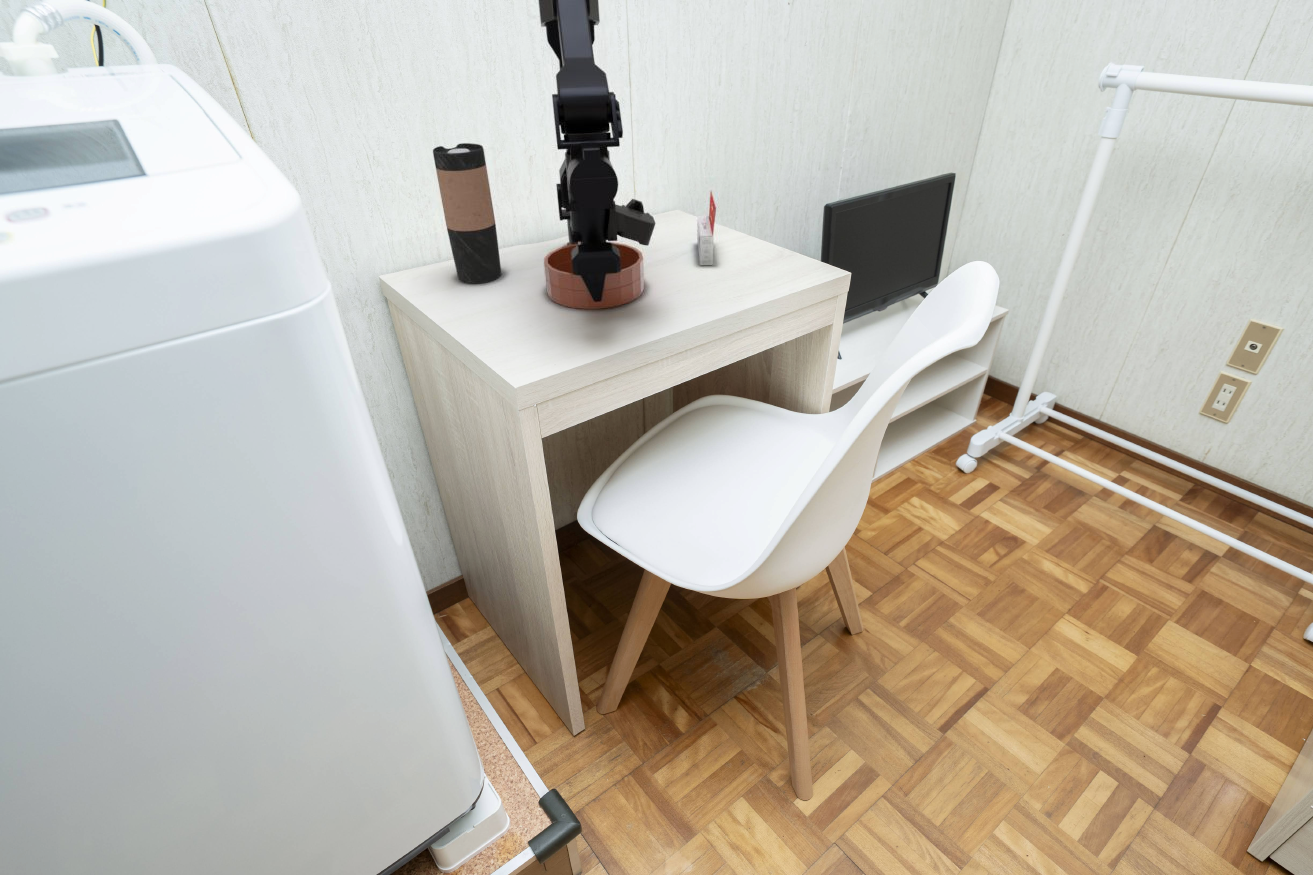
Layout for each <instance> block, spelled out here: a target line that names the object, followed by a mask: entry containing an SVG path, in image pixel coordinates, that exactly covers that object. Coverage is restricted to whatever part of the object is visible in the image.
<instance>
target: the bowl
mask: <svg viewBox="0 0 1313 875" xmlns="http://www.w3.org/2000/svg"><path fill="white" fill-rule="evenodd" d="M609 242H610V243H612V244H613V245H614V246H615V247H616V248H618V250H619V254H620V262H621V272H618V273H611V274H606V277H605V283H604V289H603V295H602V301H600V302H594V301H593V299H592V297H591V295H590V293H589V291H588V289H587V287H586V285H585V283H584V281H583V280H582V278H581V276H580V275H574V274H573V269H572V256H571V252H572V251H573V248H574V247H576V246H577V245H578V244H572V245H568V246H567V245H565V246H561V247H558V248H556V249H555V250H552V251H550V252H548V254H546V255H545V257H544V258H543V269H544V277H545V284H546V292H547V296H548V297H549V299H550V300H551V301H553V302H554V303H556V304H558V305H561V306H564V307H566V308H567V307H568V308H573V309H581V310H599V309H609V308H613V307H614V308H615V307H619V306H622V305H623V306H624V305H626V304H629V303H630V302H631V303H632V302H633V301H634V300H636V299H638V298H639V297H640V296H641V295H642V294H643V292H644V288H645V273H644V271H645V270H644V269H645V267H644V256H643V252H641V251H640V250H639V249H638V248H636V247H634V246H632V245H629V244H626V243H625V244H624V243H618V242H614V241H609Z"/></svg>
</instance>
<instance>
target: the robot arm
mask: <svg viewBox="0 0 1313 875" xmlns="http://www.w3.org/2000/svg"><path fill="white" fill-rule="evenodd" d="M599 5H600V4H599V0H538V9H539V19H540V20H539V21H540V27H541V28H544V27H545V33H546V40H547V43H548V45H549V47H550V49H551V50H552V51H553V53H554V54H555V56H556V57H557V59H558V66H559V68H558V69H559V71H557V73H555V74H556V75H555V81H556V93H552V94H551V100H552V110H553V119H554V120H553V122H554V130H555V138H556V148H557V150H565V152H564V160H563V161H562V164H561V166H560V168H559V170H558V174H559V183H556V184H555V186H556V195H557V196H556V197H557V207H558V214H559V215H558V217H559V221H565V220H566V223H567V224H566V225H567V232H568V242H567V243H566V246H568V245H572V244H578V245H577V246H576V247H574V248H573V251H572V252H571V256H572V269H573V274H574V275H580V276H581V278H582V280H583V281H584V283H585V285H586V287H587V289H588V291H589V293H590V295H591V297H592V299H593V301H594V302H600V301H602V295H603V289H604V283H605V277H606V274H611V273H618V272H621V262H620V254H619V250H618V248H616V247H615V246H614V245H613V244H612V243H610V242H617V241H618V236H619V237H621V238H624V239H627V240H631V241H633V242H637V243H638V244H639V245H640V246H641V245H642V246H646V247H647V246H649V245H650V242H651V238H652V236H653V232H654V229H655V227H656V221H655V218H654V217H653V215H651V214H650V213H649V212H645V209H644V204H643V202H642V201H641V200H637V199H634V198H631V200H629V202H628V203H627V204H625V205H624V204H622V205H619V204H616V201H615V198H616V196H617V194H618V190H619V179H618V176H617V173H616V170H615V169H614V167H613V164H612V162H611V160H610V159H611V157H610V150H609V148H616V147H617V148H618V147H620V139H623V135H624V129H623V124H622V115H621V108H620V102H619V101H618V99H617V97H616V94H615V91H610V89H609V83H608V77H607V74H606V72H605V71H604V70H603V69H602V68H600V67H599V66H598V65H597V64H596V62H595V56H594V49H593V48H594V47H593V45H594V44H595V40H596V36H595V26H599V24H600V23H601V22H600V21H601V20H600V6H599ZM610 127H611V128H610ZM610 130H611V132H610ZM561 134H563V139H562V136H561Z"/></svg>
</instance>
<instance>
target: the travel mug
mask: <svg viewBox="0 0 1313 875" xmlns="http://www.w3.org/2000/svg"><path fill="white" fill-rule="evenodd" d="M432 155H433V161H434V166H435V171H436V177H437V182H438V188H439V193H440V194H439V195H440V198H441V204H442V205H441V206H442V210H443V216H444V221H445V226H446V232H447V235H448V236H447V237H448V239H449V244H450V248H451V253H452V258H453V262H454V266H455V270H456V274H457V275H456V276H457V279H458V280H459V281H460V282H462V283H464V284H465V283H466V284H484V283H485V284H486V283H489V282H493V281H495V280H497V279H499V278H500V277H501V276H502V267H501V266H502V265H501V259H500V258H501V257H500V251H499V250H500V249H499V242H498V233H497V224H496V218H495V211H494V207H493V200H492V193H491V186H490V181H489V175H488V174H489V173H488V167H487V163H486V155H485V150H484V146H483V145H481V144H479V143H470V142H463V143H458V144H457V145H456V146H455V147H452V148H446V147H444V146H442V145H439V146H436V147H434V148H433V149H432Z"/></svg>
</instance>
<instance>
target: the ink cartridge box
mask: <svg viewBox="0 0 1313 875" xmlns="http://www.w3.org/2000/svg"><path fill="white" fill-rule="evenodd" d="M708 211H709V212H708V216H697V219H696V220H697V221H696V222H697V226H696V227H697V229H696V231H697V233H696V234H697V236H696V237H697V242H696V243H697V244H696V245H697V253H698V260H699V266H713V265H714V232H715V224H716V215H717V206H716V203H715V199H714V196H713V191H712V190H710V193H709V210H708Z"/></svg>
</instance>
